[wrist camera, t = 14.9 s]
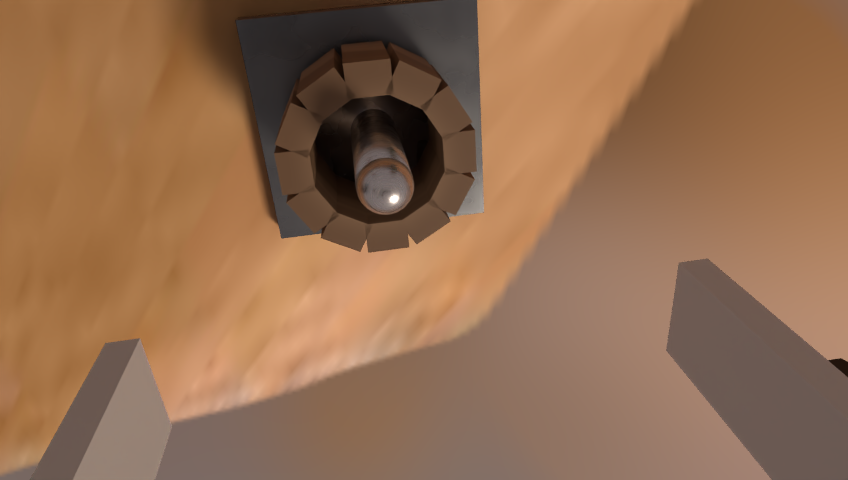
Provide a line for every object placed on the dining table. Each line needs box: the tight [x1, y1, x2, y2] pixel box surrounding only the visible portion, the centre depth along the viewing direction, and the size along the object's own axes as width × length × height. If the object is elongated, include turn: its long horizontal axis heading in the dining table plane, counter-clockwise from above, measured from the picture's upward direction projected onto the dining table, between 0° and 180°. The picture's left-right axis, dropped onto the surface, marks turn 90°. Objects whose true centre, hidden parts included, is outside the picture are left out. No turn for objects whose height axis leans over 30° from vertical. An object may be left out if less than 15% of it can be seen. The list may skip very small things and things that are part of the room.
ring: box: [274, 41, 477, 253], centre depth 29 cm, size 9×9×5 cm
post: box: [236, 0, 484, 238], centre depth 28 cm, size 12×12×11 cm
